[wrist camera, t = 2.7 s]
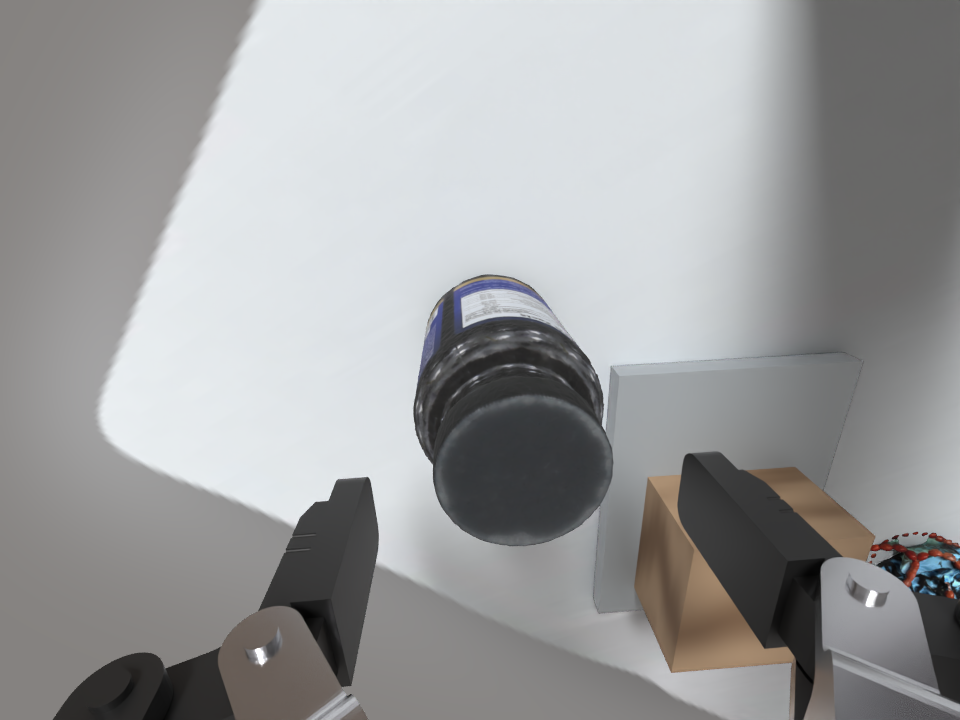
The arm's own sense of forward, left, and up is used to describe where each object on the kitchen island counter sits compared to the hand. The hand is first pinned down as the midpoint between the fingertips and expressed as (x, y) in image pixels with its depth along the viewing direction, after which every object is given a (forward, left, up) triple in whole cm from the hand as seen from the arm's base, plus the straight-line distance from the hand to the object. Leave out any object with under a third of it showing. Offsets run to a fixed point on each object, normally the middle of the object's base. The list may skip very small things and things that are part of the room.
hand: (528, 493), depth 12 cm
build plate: (+10, +12, -11) cm, 19 cm away
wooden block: (+12, +12, -10) cm, 19 cm away
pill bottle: (0, 0, -11) cm, 11 cm away
